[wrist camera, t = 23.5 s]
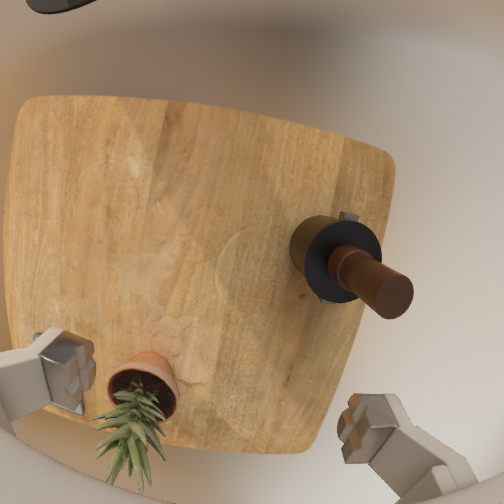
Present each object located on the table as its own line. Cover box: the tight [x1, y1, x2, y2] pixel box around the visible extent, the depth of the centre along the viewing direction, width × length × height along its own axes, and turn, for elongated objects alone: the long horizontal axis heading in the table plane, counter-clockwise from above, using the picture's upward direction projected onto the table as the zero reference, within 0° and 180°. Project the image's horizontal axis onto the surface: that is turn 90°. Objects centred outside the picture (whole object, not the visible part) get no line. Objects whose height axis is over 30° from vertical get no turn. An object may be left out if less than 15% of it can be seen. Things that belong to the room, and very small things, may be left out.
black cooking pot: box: [290, 212, 382, 304], centre depth 33 cm, size 10×9×9 cm
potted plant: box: [90, 352, 179, 495], centre depth 27 cm, size 10×10×25 cm
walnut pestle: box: [327, 244, 414, 319], centre depth 24 cm, size 4×4×10 cm
